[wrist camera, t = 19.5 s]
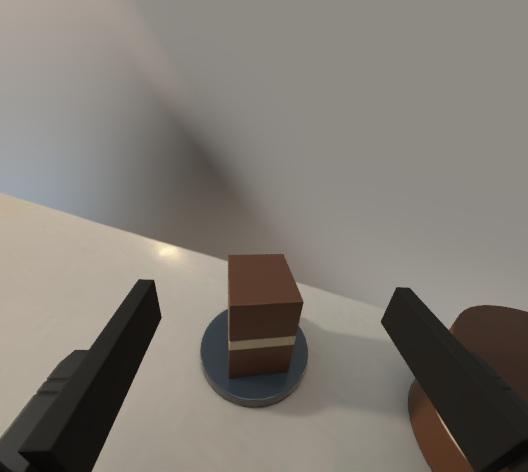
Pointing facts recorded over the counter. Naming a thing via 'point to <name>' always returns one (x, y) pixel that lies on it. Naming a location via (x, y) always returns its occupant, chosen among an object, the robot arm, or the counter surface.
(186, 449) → the counter surface
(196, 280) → the counter surface
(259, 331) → the cake slice
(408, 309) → the robot arm
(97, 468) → the counter surface
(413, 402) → the cake
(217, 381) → the plate
